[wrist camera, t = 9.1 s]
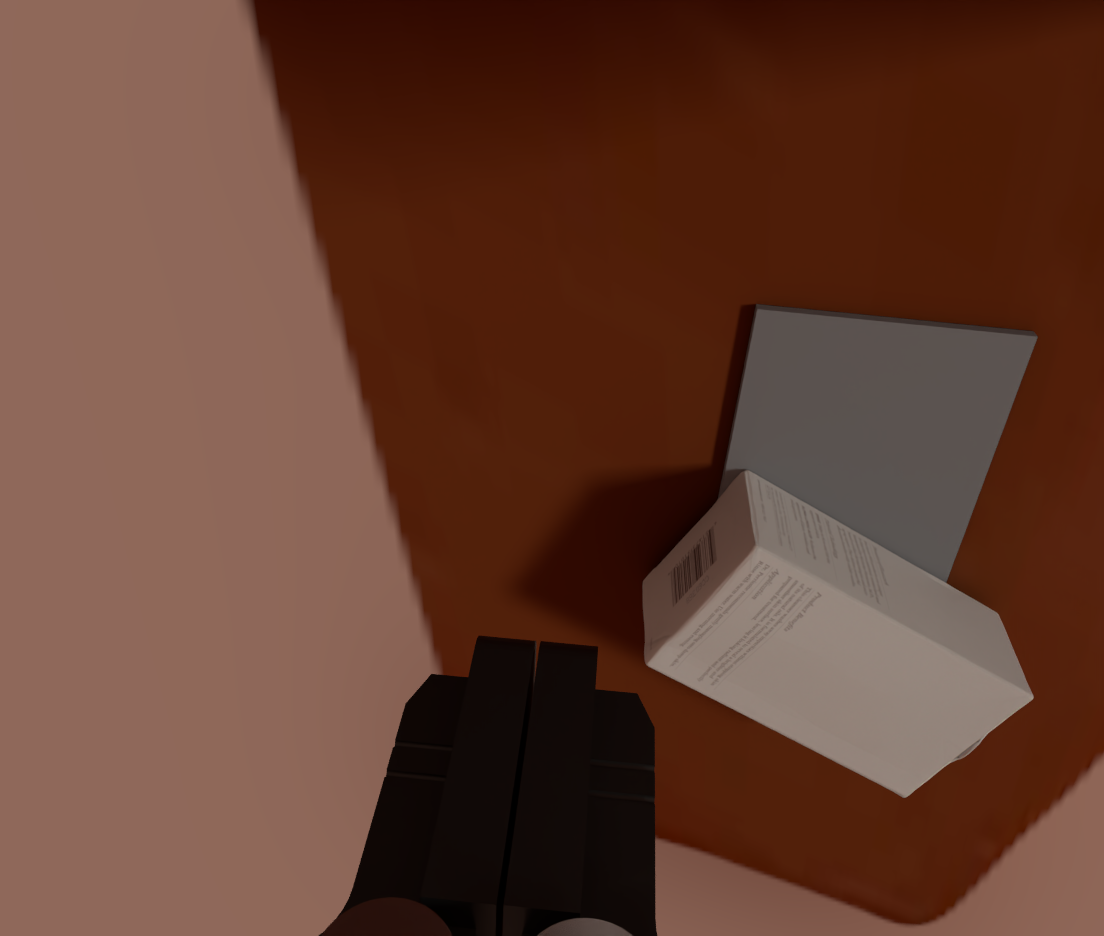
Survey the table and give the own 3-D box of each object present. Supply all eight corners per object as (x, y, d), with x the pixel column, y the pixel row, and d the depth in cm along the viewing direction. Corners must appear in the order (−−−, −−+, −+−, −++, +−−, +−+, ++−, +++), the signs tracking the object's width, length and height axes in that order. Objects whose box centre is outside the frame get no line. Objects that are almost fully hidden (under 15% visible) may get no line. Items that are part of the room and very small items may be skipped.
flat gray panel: (1033, 331, 39) (1037, 336, 38) (922, 632, 47) (924, 639, 47) (756, 304, 39) (757, 309, 39) (696, 607, 48) (696, 614, 47)
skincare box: (638, 579, 46) (876, 708, 50) (638, 670, 41) (903, 807, 45) (749, 457, 42) (1001, 608, 46) (765, 543, 37) (1045, 705, 41)
